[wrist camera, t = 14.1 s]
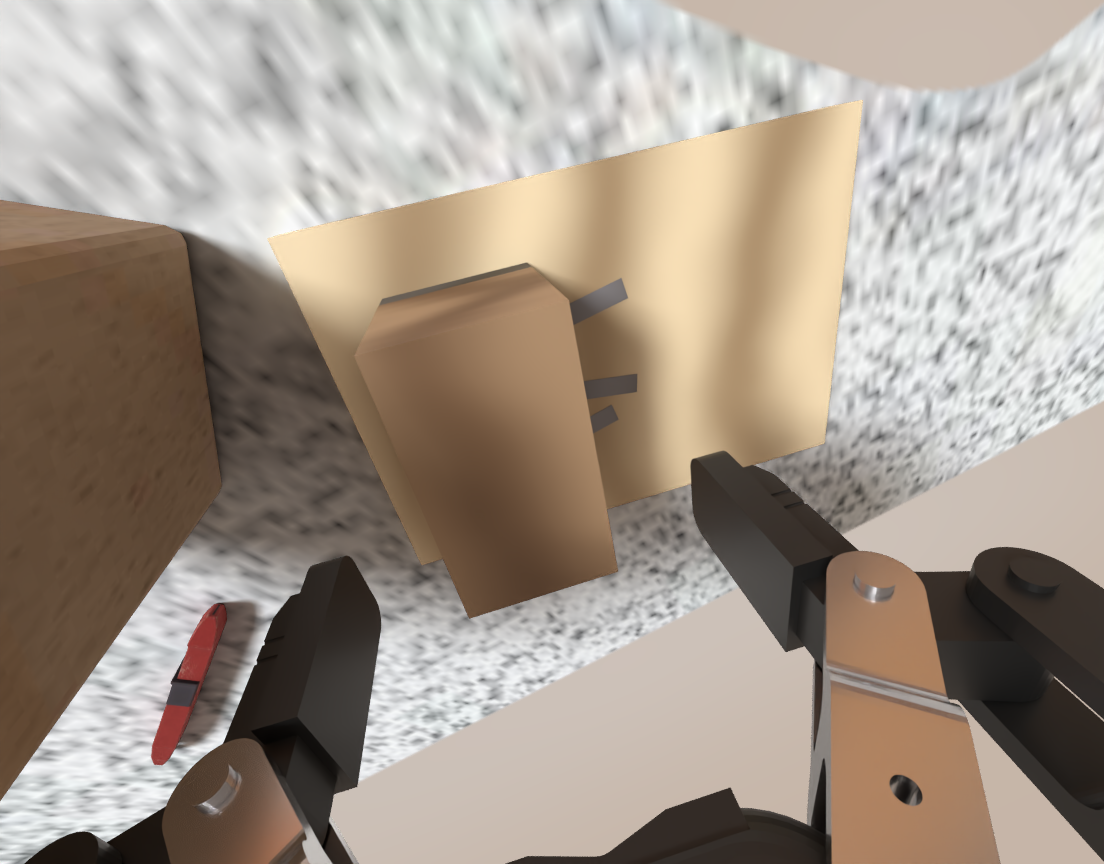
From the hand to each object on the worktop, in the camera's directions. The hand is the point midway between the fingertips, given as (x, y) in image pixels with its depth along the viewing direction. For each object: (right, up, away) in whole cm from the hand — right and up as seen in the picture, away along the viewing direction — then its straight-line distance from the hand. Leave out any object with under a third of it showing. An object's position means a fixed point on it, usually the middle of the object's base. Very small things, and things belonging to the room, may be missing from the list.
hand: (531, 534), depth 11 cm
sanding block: (-2, +4, +7) cm, 8 cm away
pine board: (+2, +6, +9) cm, 11 cm away
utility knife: (-18, -10, +13) cm, 24 cm away
